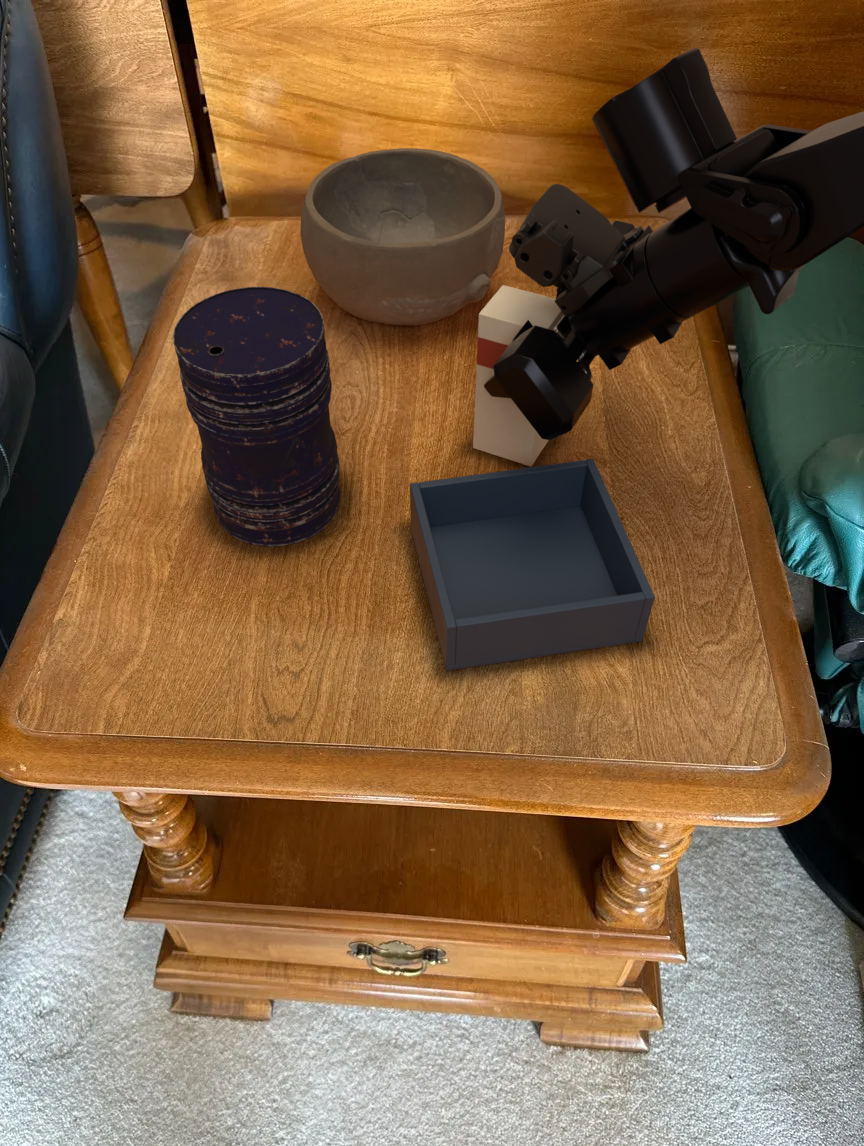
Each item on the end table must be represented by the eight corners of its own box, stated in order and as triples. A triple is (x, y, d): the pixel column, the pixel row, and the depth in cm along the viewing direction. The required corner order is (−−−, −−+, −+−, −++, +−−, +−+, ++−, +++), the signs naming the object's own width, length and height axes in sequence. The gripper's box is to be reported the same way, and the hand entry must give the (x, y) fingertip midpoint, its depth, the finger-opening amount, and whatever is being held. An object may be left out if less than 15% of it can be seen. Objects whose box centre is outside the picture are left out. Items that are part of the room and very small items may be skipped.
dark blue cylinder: (277, 440, 77) (249, 269, 65) (369, 492, 73) (358, 319, 61) (185, 508, 72) (138, 338, 61) (278, 568, 68) (247, 397, 56)
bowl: (530, 325, 85) (540, 217, 77) (341, 371, 82) (332, 263, 74) (457, 232, 95) (459, 128, 88) (286, 270, 92) (273, 166, 84)
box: (585, 504, 71) (593, 458, 67) (642, 641, 63) (655, 597, 59) (410, 528, 70) (409, 483, 67) (445, 671, 62) (446, 627, 58)
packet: (551, 436, 76) (568, 301, 66) (531, 467, 74) (545, 332, 64) (493, 418, 78) (502, 284, 68) (472, 448, 75) (478, 313, 66)
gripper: (653, 99, 61) (488, 225, 74) (537, 237, 52) (369, 356, 64) (743, 242, 65) (571, 340, 77) (650, 397, 55) (471, 480, 67)
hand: (500, 373), depth 71 cm, fingers closed on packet, 4 cm apart
